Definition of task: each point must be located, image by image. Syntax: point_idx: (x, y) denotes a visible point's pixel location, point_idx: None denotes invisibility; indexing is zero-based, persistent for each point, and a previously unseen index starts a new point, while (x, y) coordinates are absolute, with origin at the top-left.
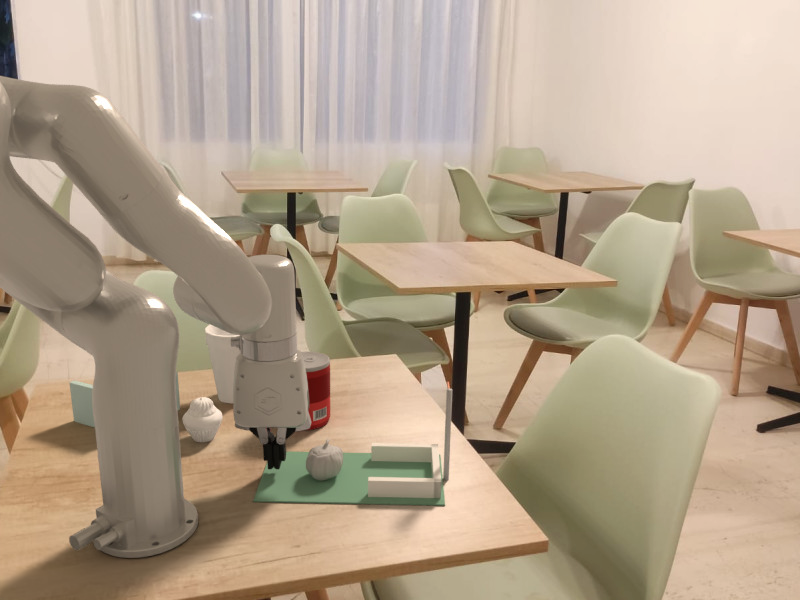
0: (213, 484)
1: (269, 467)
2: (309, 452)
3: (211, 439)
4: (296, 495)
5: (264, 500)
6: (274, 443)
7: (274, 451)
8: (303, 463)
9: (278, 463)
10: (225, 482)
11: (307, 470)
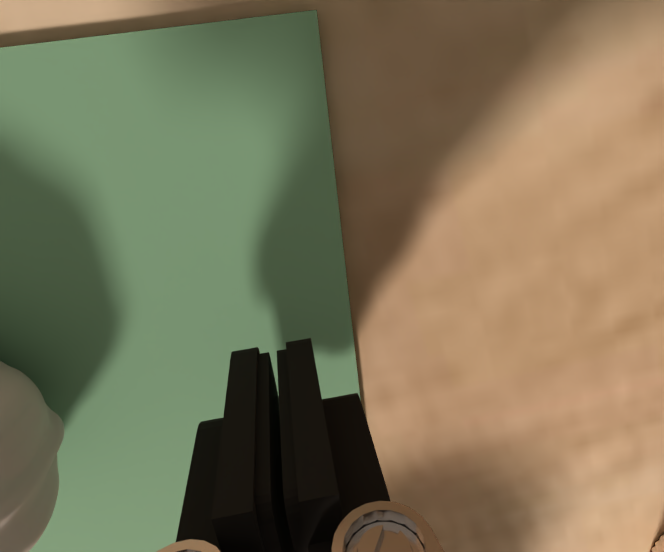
0: (614, 191)
1: (299, 344)
2: (15, 536)
3: (662, 541)
4: (21, 135)
5: (232, 24)
6: (270, 540)
7: (252, 449)
8: (165, 480)
9: (229, 376)
10: (548, 225)
11: (20, 381)
